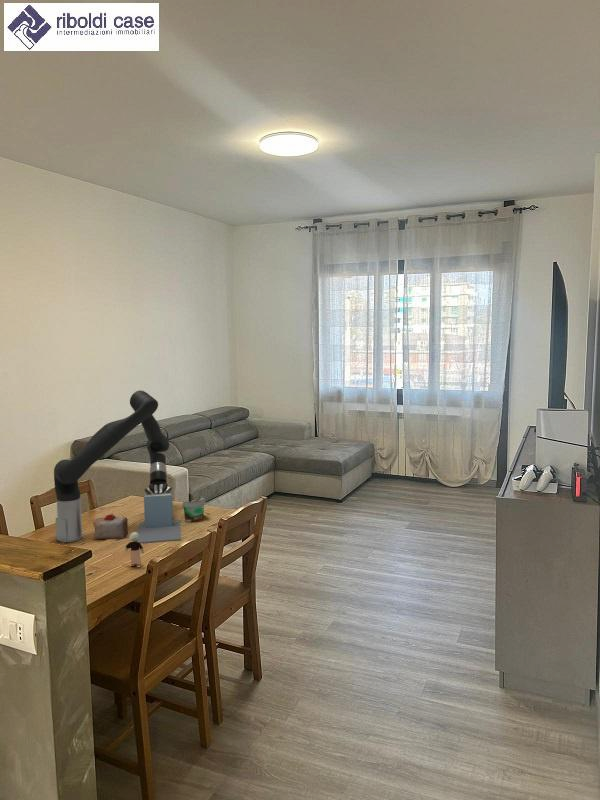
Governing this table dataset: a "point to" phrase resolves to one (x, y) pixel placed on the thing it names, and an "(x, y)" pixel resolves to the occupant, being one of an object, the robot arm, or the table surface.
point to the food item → (111, 527)
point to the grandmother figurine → (135, 549)
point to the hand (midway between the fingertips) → (158, 507)
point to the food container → (194, 510)
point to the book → (158, 510)
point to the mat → (159, 533)
